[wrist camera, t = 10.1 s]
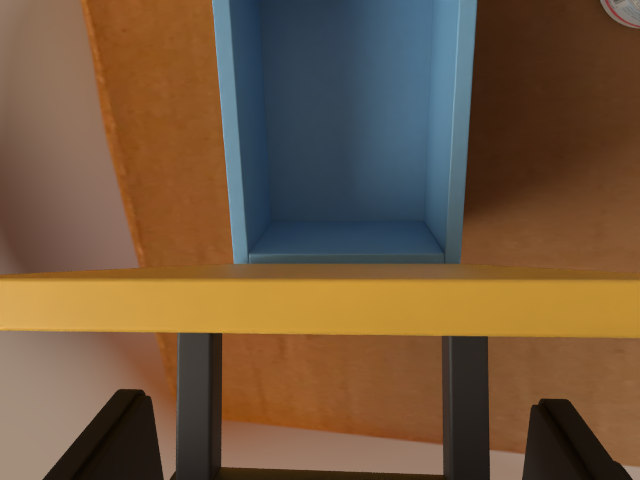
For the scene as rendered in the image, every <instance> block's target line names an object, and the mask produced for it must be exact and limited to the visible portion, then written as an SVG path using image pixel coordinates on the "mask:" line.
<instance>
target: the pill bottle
mask: <svg viewBox="0 0 640 480" xmlns="http://www.w3.org/2000/svg"><path fill="white" fill-rule="evenodd" d="M600 2H601V4H602V6H603V8H604V9H605V11H606V12H607V13H608V15H609V16H610V17H612V18H613V19H614V20H615V21H617V22H619V23H621V24H623V25H625V26H628V27H632V28H640V0H600Z"/></svg>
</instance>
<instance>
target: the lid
mask: <svg viewBox="0 0 640 480" xmlns="http://www.w3.org/2000/svg"><path fill="white" fill-rule="evenodd" d="M0 330H3V331H6V330H7V331H88V332H94V331H95V332H169V333H177V422H176V424H177V425H176V426H177V427H176V471H175V472H174V474H173V475H172V477H171V478H170V480H490V456H489V391H488V336H501V337H585V338H640V273H623V272H605V271H587V270H568V269H550V268H532V267H513V266H495V265H477V264H215V265H194V266H173V267H152V268H131V269H110V270H90V271H68V272H49V273H48V272H47V273H26V274H6V275H0ZM222 333H252V334H335V335H418V336H442V386H443V469H444V471H443V473H444V475H429V474H399V473H372V472H343V471H314V470H286V469H285V470H284V469H257V468H228V467H221V416H222Z"/></svg>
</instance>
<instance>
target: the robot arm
mask: <svg viewBox="0 0 640 480" xmlns="http://www.w3.org/2000/svg"><path fill="white" fill-rule="evenodd" d="M43 480H164V478H163V472H162V465H161V459H160V452H159V445H158V439H157V432H156V425H155V418H154V412H153V405H152V400H151V397H150V396H146V395H145V392H144V391H143V390H137V389H120V390H118V391H117V392H116V393H115V394H114V395H113V396H112V398H110V400H109V401H108V402H107V403H106V405H105V406H104V407H103V408H102V409H101V411H100V412H99V413H98V414H97V415H96V416H95V418H94V419H93V420H92V421H91V423H90V424H89V425H88V426H87V427H86V428H85V430H84V431H83V432H82V433H81V434H80V435H79V437H78V438H77V439H76V440H75V441H74V443H73V444H72V445H71V446H70V448H69V449H68V450H67V451H66V452H65V453H64V455H63V456H62V457H61V458H60V459H59V461H58V462H57V463H56V465H54V467H53V468H52V469H51V470H50V471H49V472H48V474H47V475H46V476H45V477H44V479H43ZM522 480H633V479H632V478H631V477H630V475H629V474H628V473H627V472H626V470H625V469H624V468H623V467H622V466H621V465H620V463H618V462H616V461H613V460H612V458H611V457H610V455H609V454H608V453H607V451H606V450H605V449H604V447H603V446H602V445H601V443H600V442H599V440H598V439H597V438H596V436H595V435H594V434H593V432H592V431H591V430H590V428H589V427H588V426H587V424H586V423H585V421H584V420H583V419H582V417H581V416H580V415H579V413H578V412H577V411H576V409H575V408H574V406H573V405H572V404H571V402H570V401H569V400H567V399H540V401H539V403H538V405H533V406H532V407H531V413H530V421H529V429H528V437H527V445H526V453H525V461H524V469H523V477H522Z"/></svg>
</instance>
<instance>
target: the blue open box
mask: <svg viewBox="0 0 640 480" xmlns="http://www.w3.org/2000/svg"><path fill="white" fill-rule="evenodd" d="M212 2H213V14H214V27H215V39H216V51H217V63H218V75H219V87H220V99H221V111H222V123H223V135H224V148H225V160H226V172H227V184H228V196H229V208H230V220H231V232H232V244H233V256H234V264H460V260H461V245H462V230H463V214H464V199H465V184H466V168H467V153H468V138H469V122H470V107H471V92H472V76H473V61H474V46H475V31H476V15H477V0H212Z"/></svg>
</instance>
